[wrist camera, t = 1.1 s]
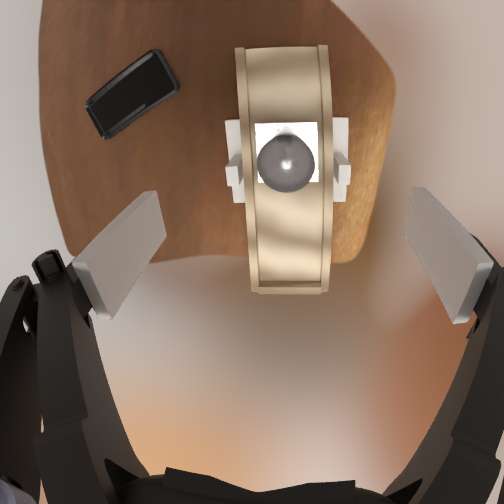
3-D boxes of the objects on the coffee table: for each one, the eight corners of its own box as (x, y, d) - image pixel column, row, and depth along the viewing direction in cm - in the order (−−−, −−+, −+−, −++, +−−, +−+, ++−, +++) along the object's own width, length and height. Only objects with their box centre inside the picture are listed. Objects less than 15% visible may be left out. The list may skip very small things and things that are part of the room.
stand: (226, 119, 36) (213, 127, 30) (346, 117, 34) (358, 124, 28) (240, 248, 47) (233, 275, 41) (340, 248, 45) (346, 275, 39)
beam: (239, 57, 30) (231, 47, 25) (325, 54, 28) (330, 44, 23) (253, 274, 42) (248, 293, 38) (326, 274, 41) (330, 293, 36)
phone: (83, 103, 35) (156, 46, 30) (87, 102, 36) (159, 46, 31) (104, 142, 38) (181, 90, 33) (108, 141, 39) (183, 89, 34)
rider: (259, 123, 30) (239, 123, 18) (313, 122, 29) (328, 121, 17) (262, 175, 32) (245, 207, 21) (314, 174, 31) (329, 206, 20)
